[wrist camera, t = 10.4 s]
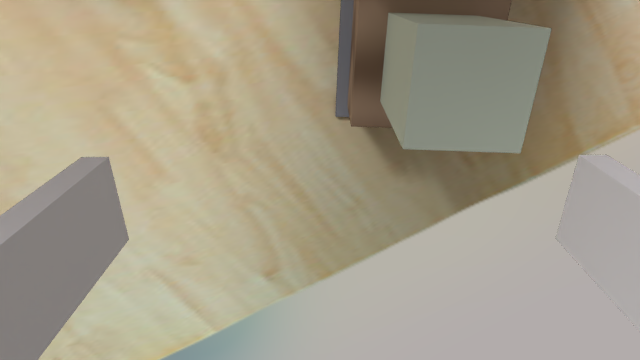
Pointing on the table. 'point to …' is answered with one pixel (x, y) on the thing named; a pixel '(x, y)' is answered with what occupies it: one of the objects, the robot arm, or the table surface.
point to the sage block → (461, 81)
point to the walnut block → (370, 47)
